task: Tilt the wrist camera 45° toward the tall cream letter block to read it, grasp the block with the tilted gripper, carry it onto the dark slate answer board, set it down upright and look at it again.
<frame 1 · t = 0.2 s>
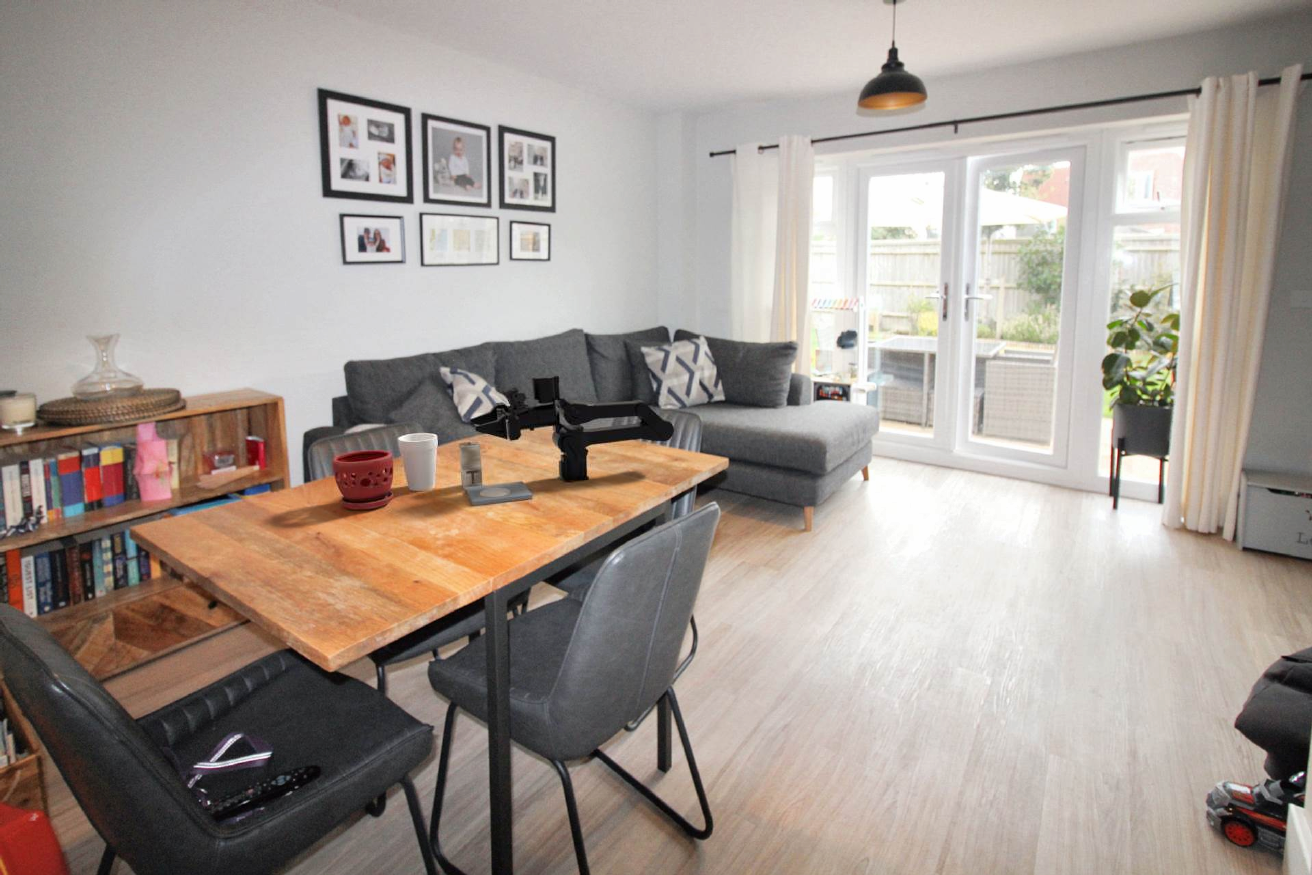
hand: (472, 425, 183), 16 cm above the table, tool horizontal, fingers open, 9 cm apart
letter block: (472, 486, 189), on the table
plant pot: (367, 504, 176), on the table
answer board: (498, 494, 182), on the table
foam cup: (421, 487, 189), on the table
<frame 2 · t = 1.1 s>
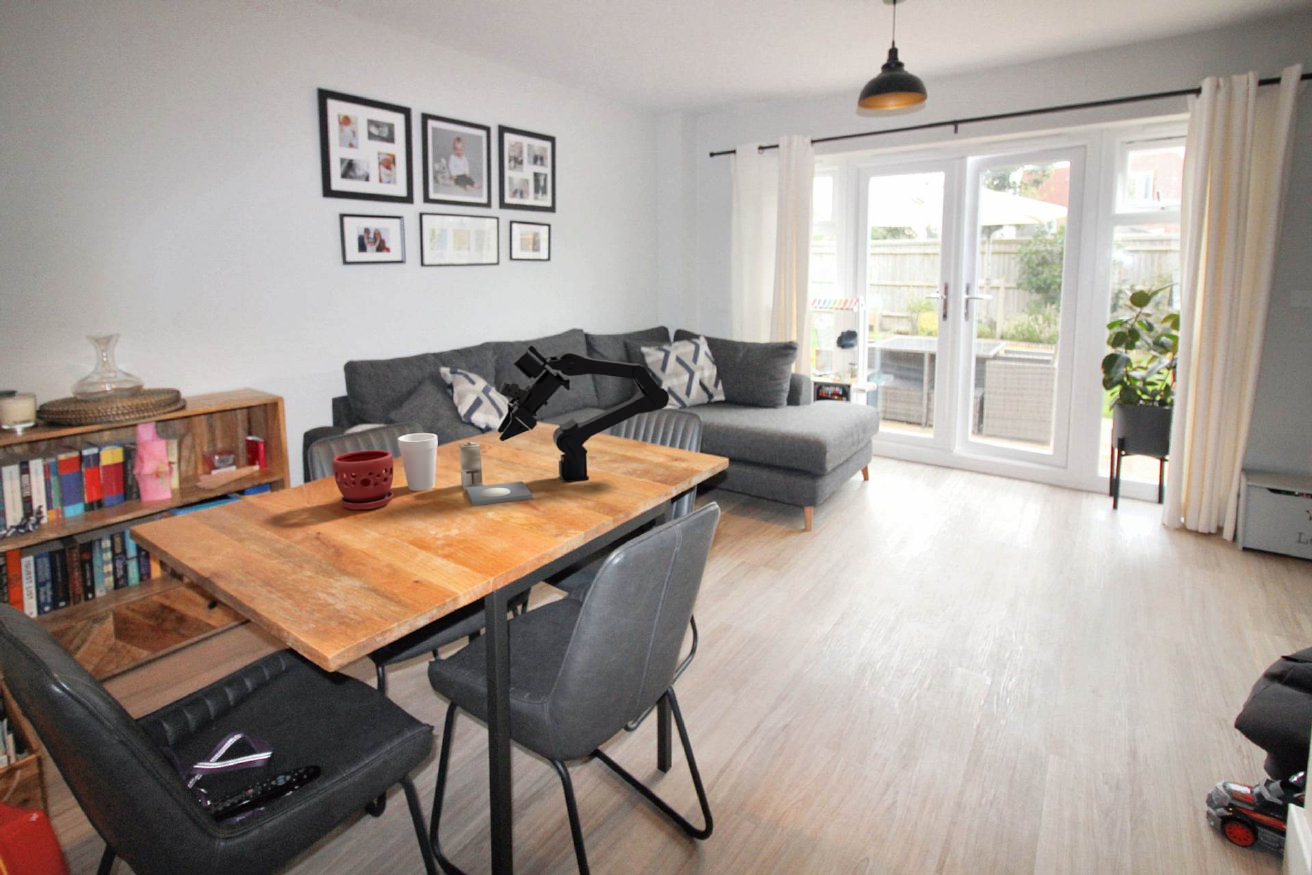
hand: (499, 435, 188), 13 cm above the table, tool tilted 45°, fingers open, 9 cm apart
nothing on the table moved.
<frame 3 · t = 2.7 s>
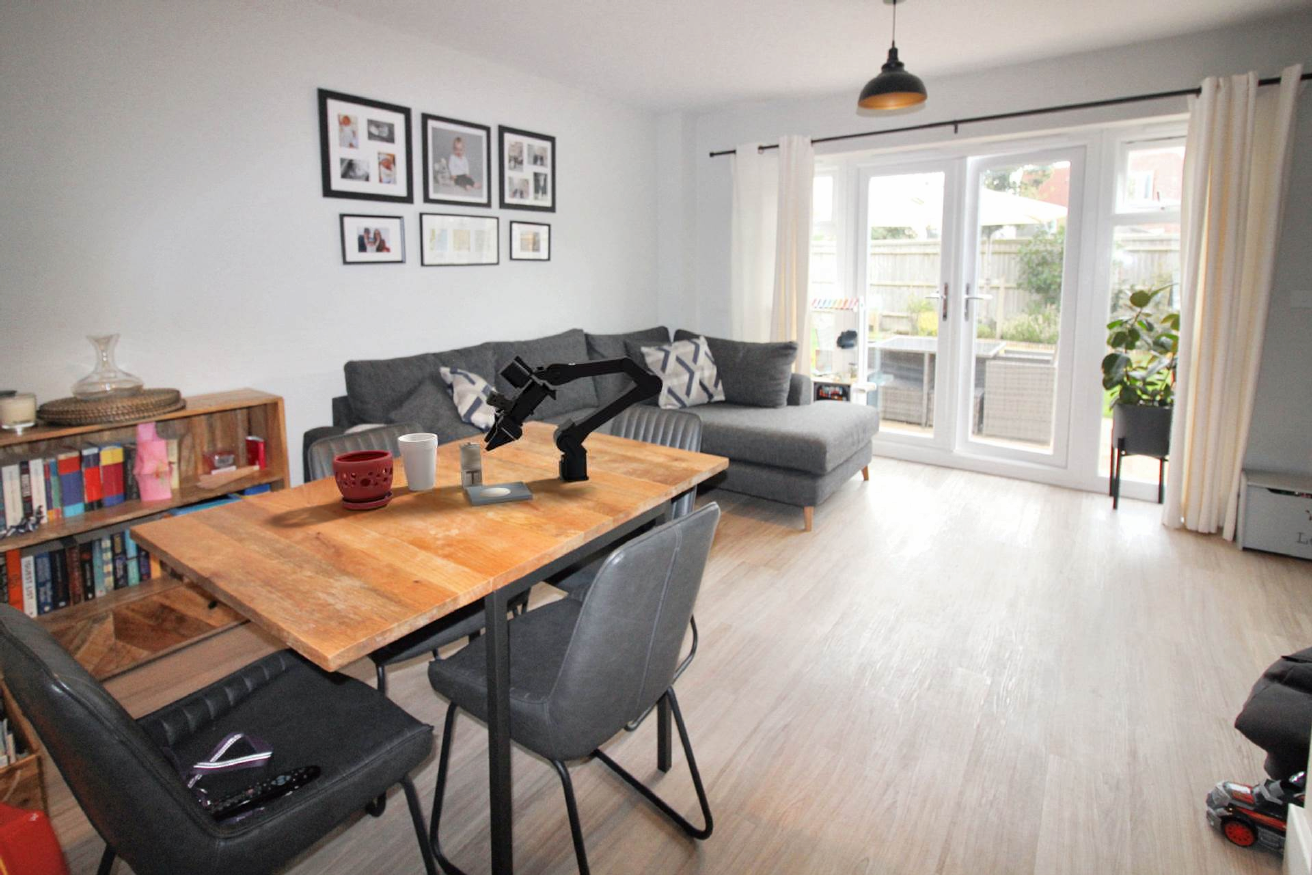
hand: (485, 445, 188), 10 cm above the table, tool tilted 45°, fingers open, 9 cm apart
nothing on the table moved.
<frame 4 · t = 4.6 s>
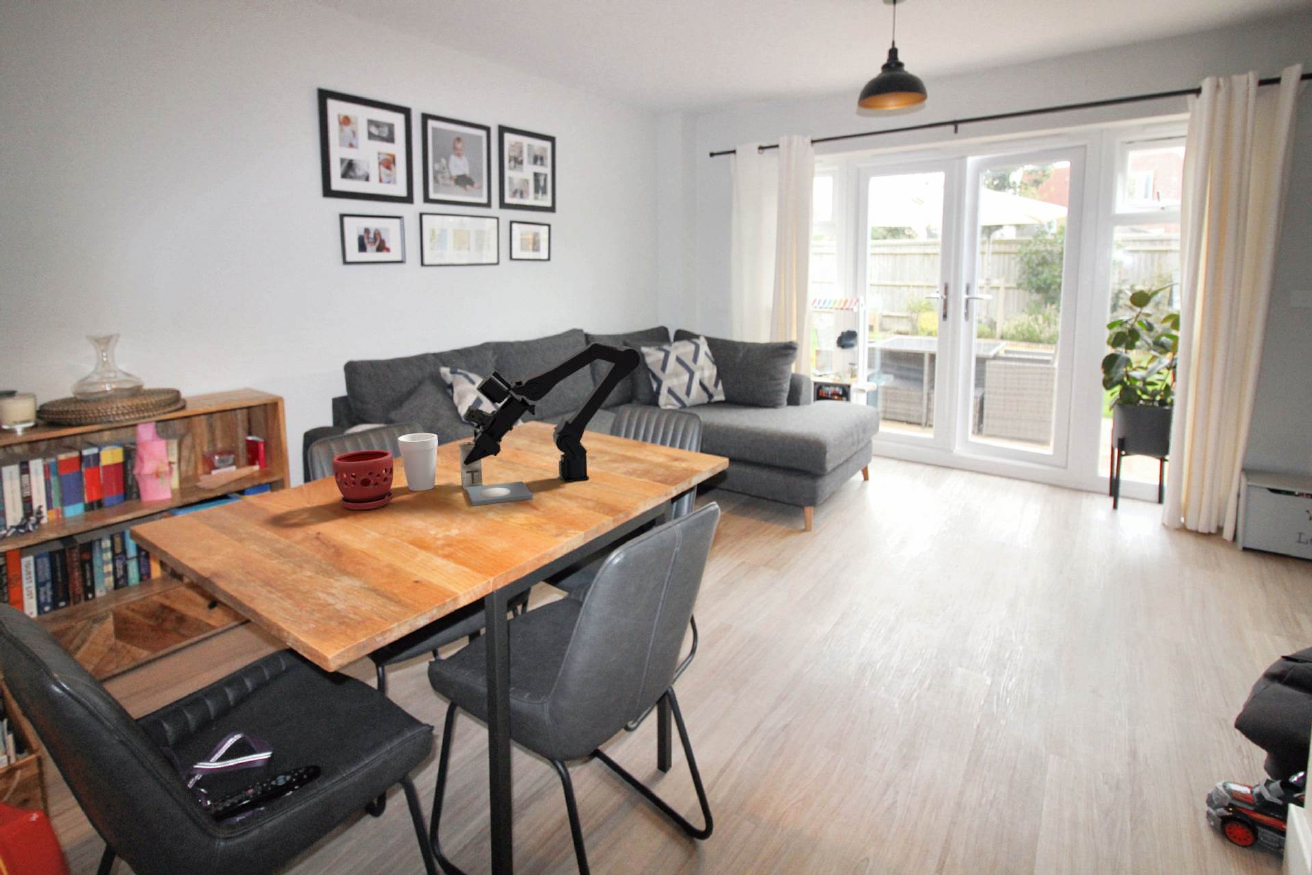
hand: (464, 461, 187), 7 cm above the table, tool tilted 45°, fingers closed on letter block, 5 cm apart
letter block: (472, 485, 189), on the table, touching gripper
everything else where it was.
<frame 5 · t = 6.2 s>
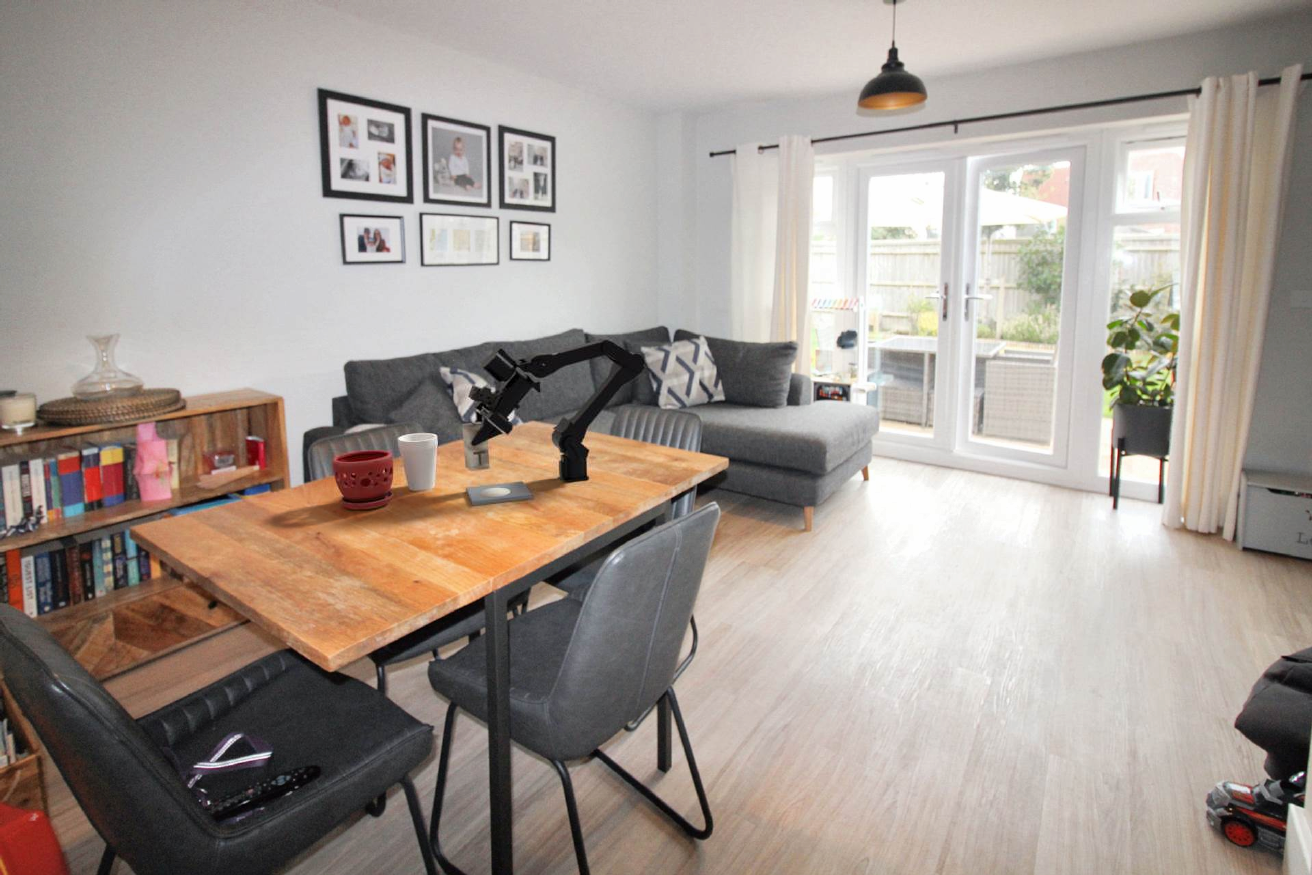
hand: (470, 442, 182), 12 cm above the table, tool tilted 45°, fingers closed on letter block, 5 cm apart
letter block: (477, 467, 184), point 6 cm above the table, touching gripper
everything else where it was.
when the fingers open (9 cm above the table, at t = 8.1 s): letter block stays where it is, resting on answer board.
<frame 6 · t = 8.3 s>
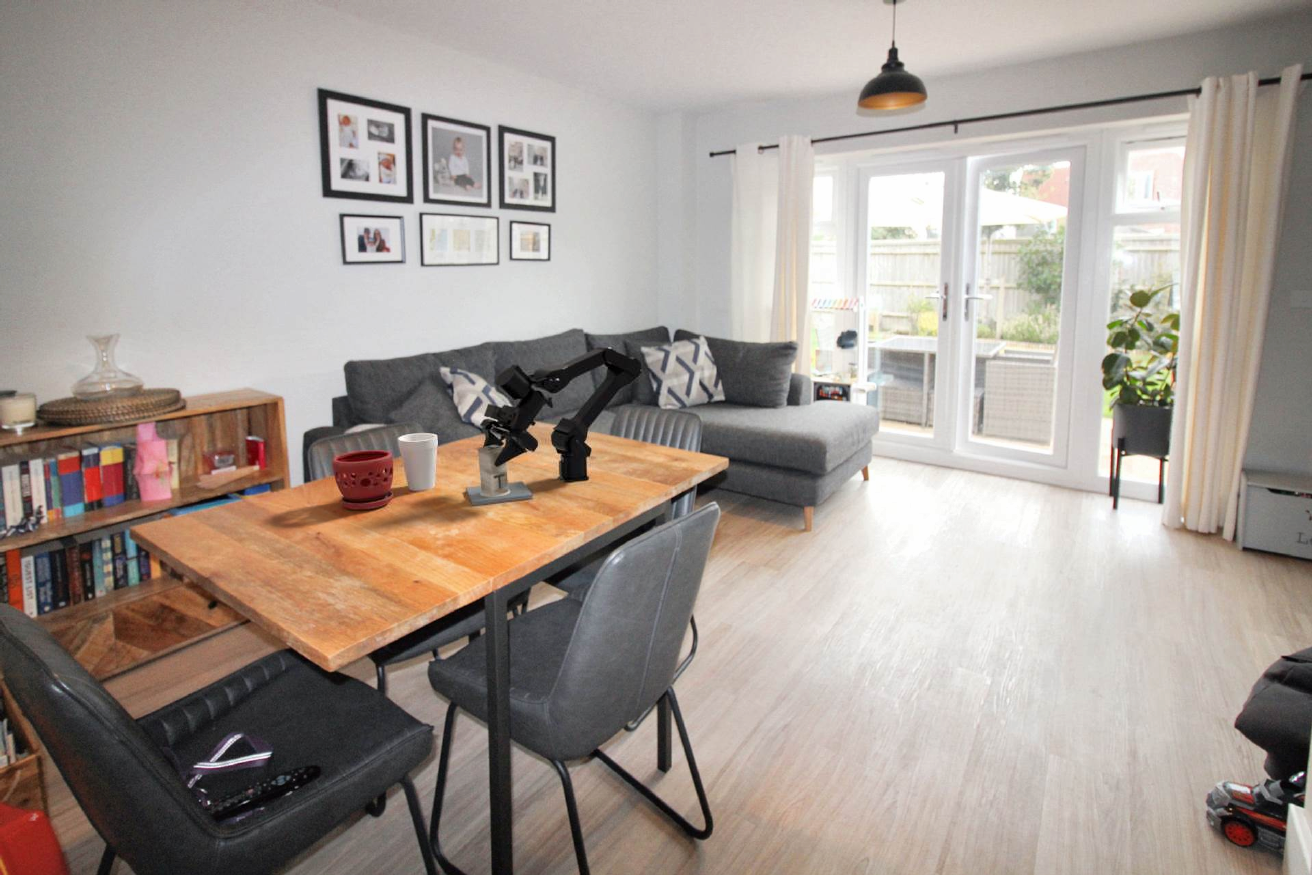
hand: (488, 462, 178), 9 cm above the table, tool tilted 45°, fingers open, 7 cm apart
letter block: (495, 491, 180), point 1 cm above the table, touching answer board
everything else where it was.
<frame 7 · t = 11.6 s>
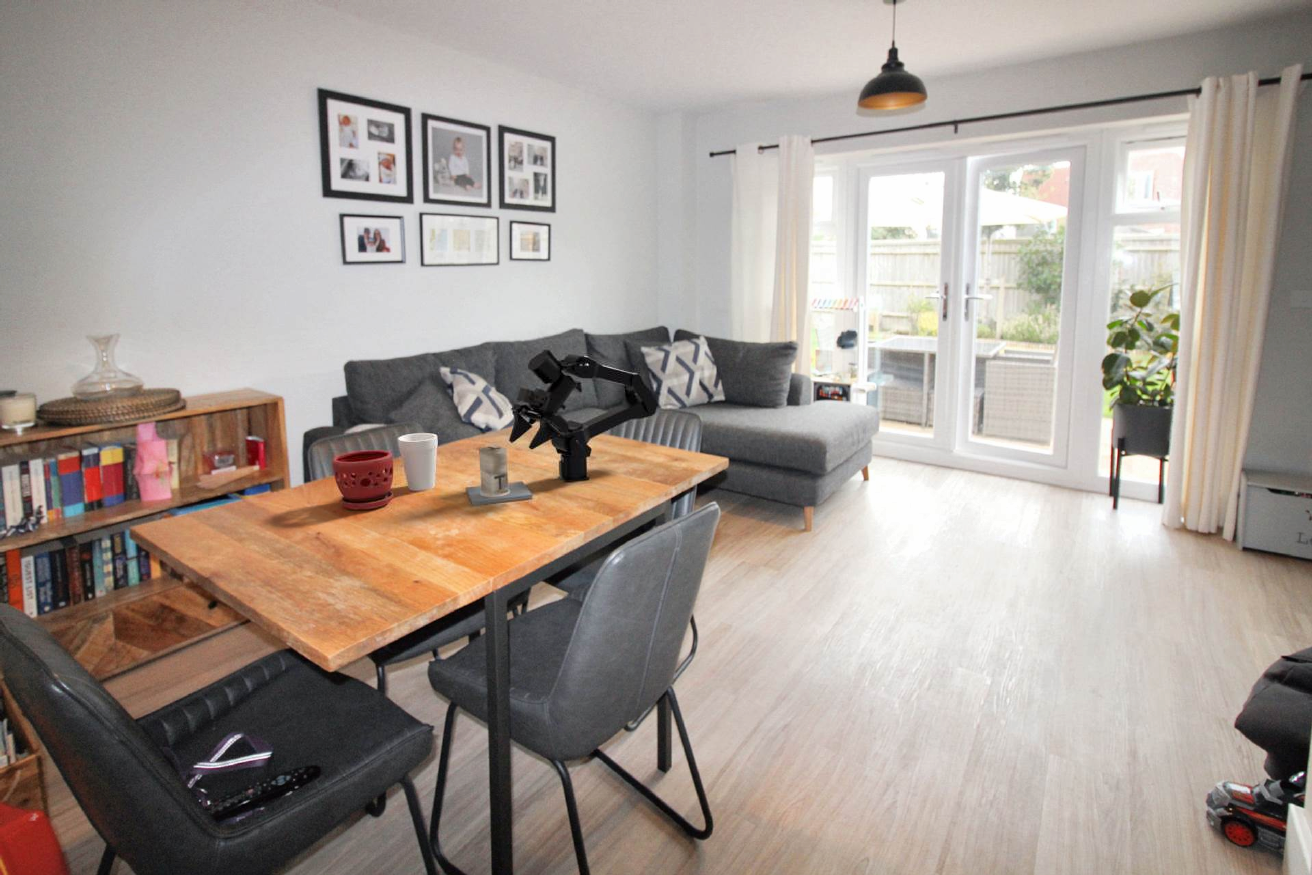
hand: (520, 445, 183), 12 cm above the table, tool tilted 45°, fingers open, 9 cm apart
nothing on the table moved.
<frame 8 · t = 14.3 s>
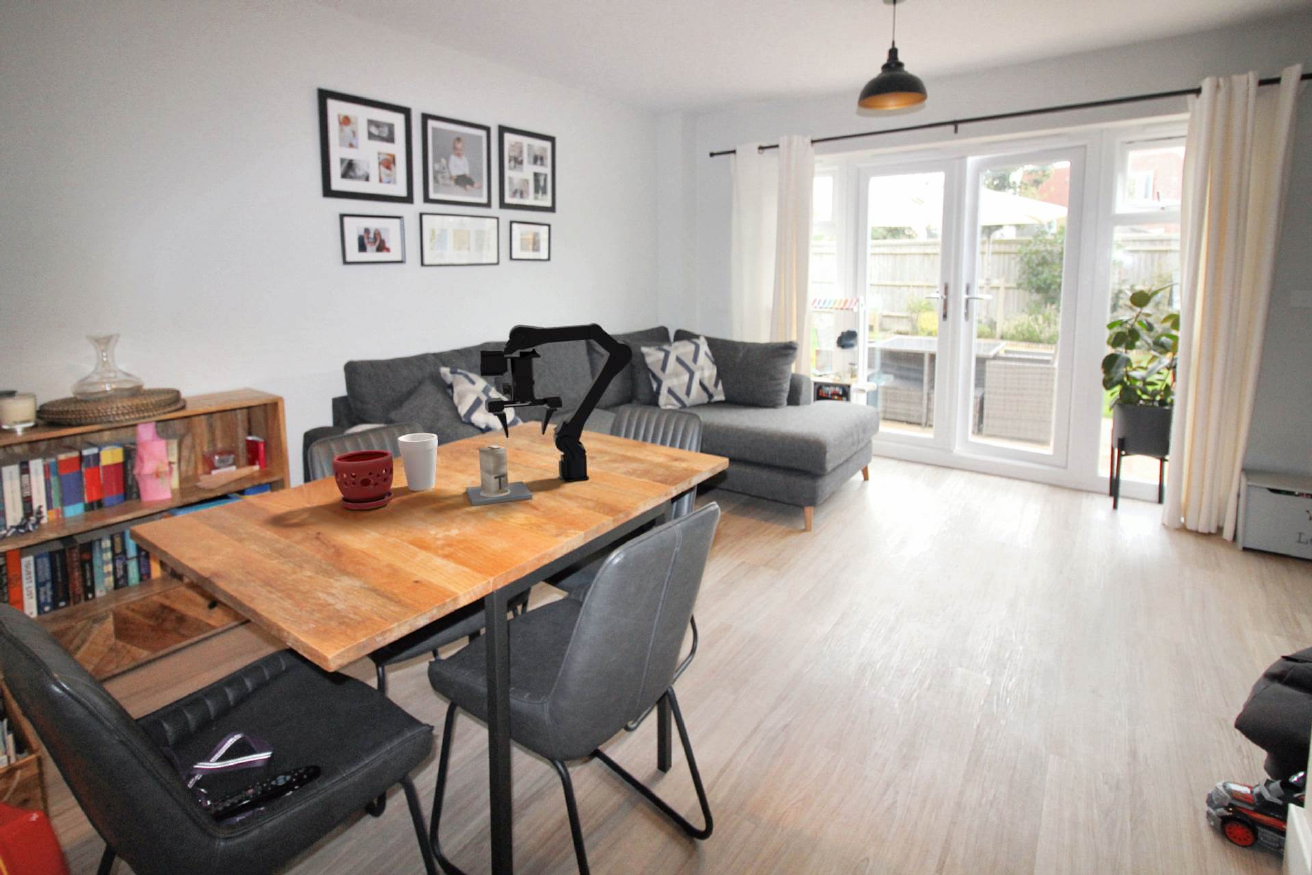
hand: (525, 436, 190), 12 cm above the table, tool pointing down, fingers open, 9 cm apart
nothing on the table moved.
at the end: letter block inside the target area on the answer board (1.4 cm from its centre), point 1.1 cm above the answer board's base; letter block tilted 0°; the gripper is holding nothing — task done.
